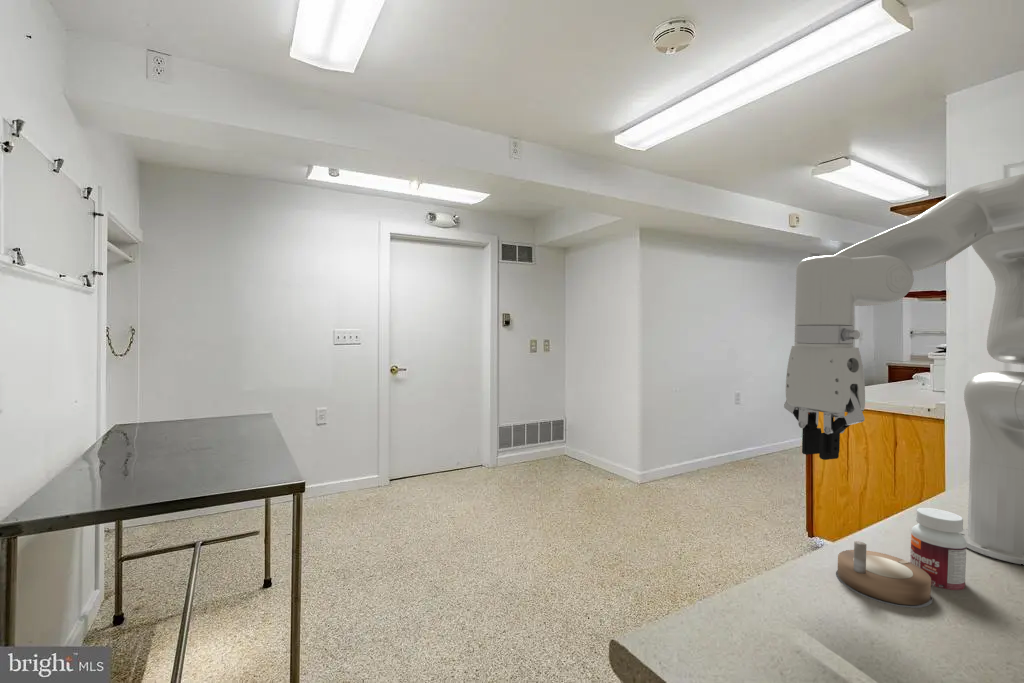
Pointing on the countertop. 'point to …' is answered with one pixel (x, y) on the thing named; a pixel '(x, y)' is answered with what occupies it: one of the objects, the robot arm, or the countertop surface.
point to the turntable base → (883, 600)
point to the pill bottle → (939, 547)
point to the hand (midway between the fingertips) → (820, 455)
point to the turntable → (884, 576)
